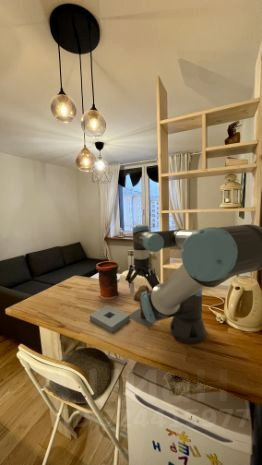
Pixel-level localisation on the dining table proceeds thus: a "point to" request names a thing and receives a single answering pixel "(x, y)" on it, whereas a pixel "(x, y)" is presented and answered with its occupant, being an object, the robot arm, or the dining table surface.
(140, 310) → the peg
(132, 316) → the mat
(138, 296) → the rock
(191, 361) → the dining table surface
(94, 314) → the block
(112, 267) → the vessel
